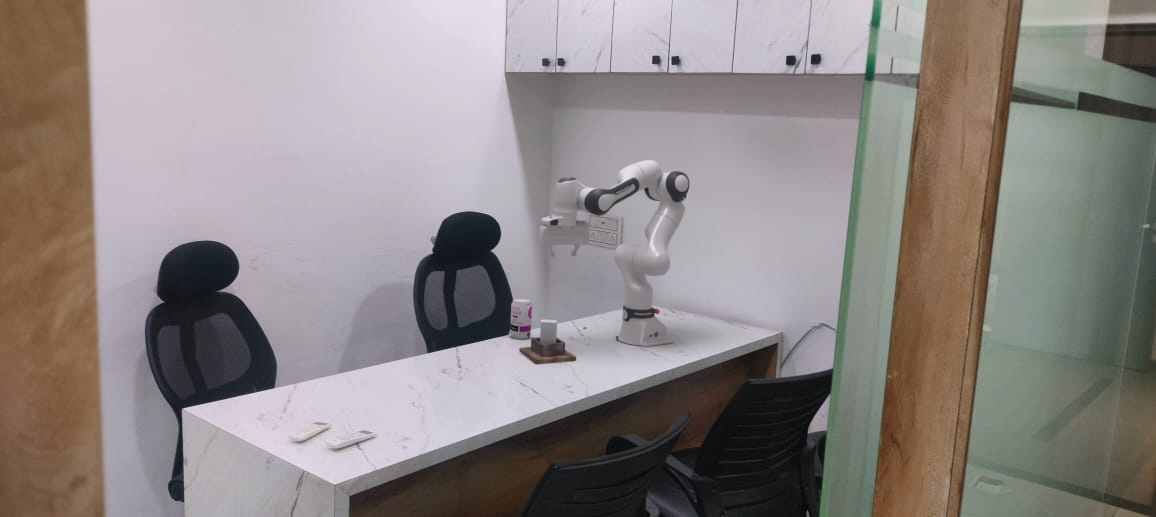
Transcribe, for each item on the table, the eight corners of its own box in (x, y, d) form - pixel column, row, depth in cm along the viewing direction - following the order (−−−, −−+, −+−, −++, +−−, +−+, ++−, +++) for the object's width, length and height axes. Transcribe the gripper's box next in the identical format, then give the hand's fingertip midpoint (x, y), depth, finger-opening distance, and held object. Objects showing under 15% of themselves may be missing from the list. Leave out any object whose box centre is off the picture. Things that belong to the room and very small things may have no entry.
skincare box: (555, 351, 295) (557, 319, 293) (555, 354, 291) (557, 322, 289) (538, 350, 295) (540, 319, 293) (539, 353, 290) (540, 321, 288)
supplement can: (531, 335, 320) (533, 299, 318) (528, 340, 312) (530, 303, 310) (512, 333, 321) (513, 297, 319) (508, 338, 313) (510, 301, 311)
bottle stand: (558, 348, 304) (558, 333, 303) (576, 360, 289) (577, 345, 288) (519, 351, 297) (520, 336, 296) (535, 364, 282) (536, 347, 281)
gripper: (585, 219, 308) (583, 254, 310) (537, 219, 299) (535, 255, 301) (592, 221, 302) (590, 257, 305) (543, 221, 293) (541, 258, 296)
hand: (562, 256), depth 303 cm, fingers open, 8 cm apart
